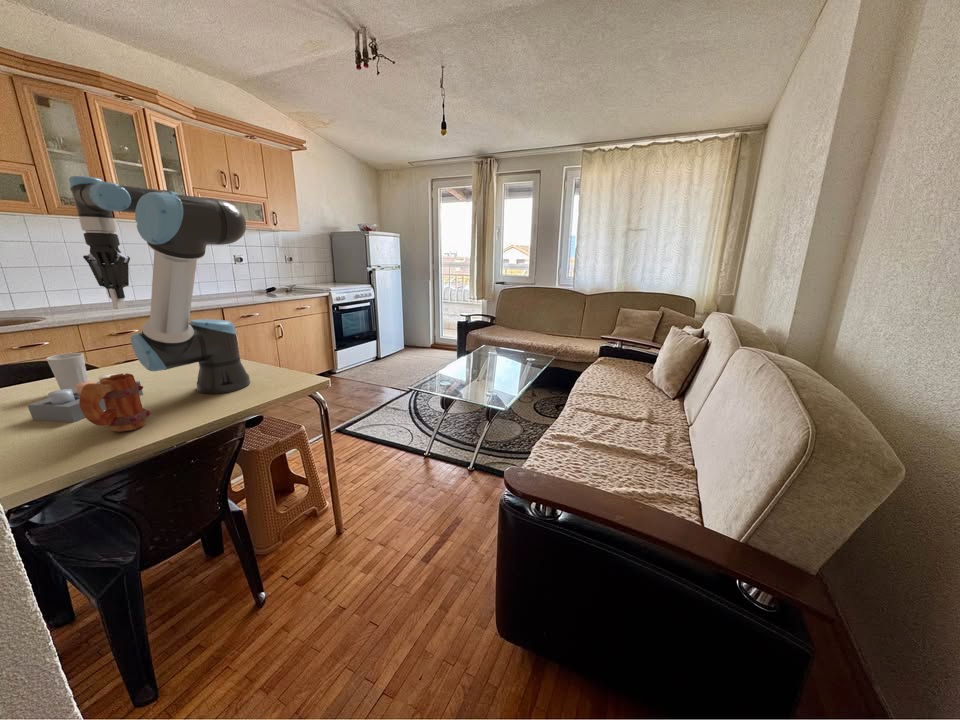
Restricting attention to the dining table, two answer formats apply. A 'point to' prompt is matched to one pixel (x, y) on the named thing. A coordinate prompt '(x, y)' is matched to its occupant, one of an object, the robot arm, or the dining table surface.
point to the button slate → (61, 396)
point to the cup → (68, 369)
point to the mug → (114, 403)
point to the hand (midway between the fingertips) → (120, 308)
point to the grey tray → (61, 409)
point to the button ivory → (106, 376)
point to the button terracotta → (81, 385)
